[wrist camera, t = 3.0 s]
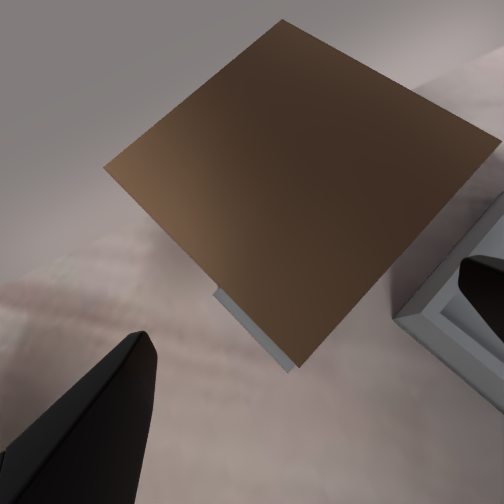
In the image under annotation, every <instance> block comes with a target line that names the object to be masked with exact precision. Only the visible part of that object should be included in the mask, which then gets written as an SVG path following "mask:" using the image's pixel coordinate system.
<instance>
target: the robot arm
mask: <svg viewBox="0 0 504 504" xmlns="http://www.w3.org/2000/svg"><path fill="white" fill-rule="evenodd" d="M458 287H459V289H460V291H461V293H462V294H463V295H464V296H465V298H466V299H467V300H468V301H469V302H470V304H471V305H472V306H473V307H474V309H475V310H476V311H477V312H478V314H479V315H480V316H481V317H482V319H483V320H484V321H485V322H486V323H487V325H488V326H489V327H490V328H491V330H492V331H493V332H494V333H495V334H496V335H497V337H498V338H499V339H500V340H501V341H502V342H503V343H504V259H500V258H495V257H490V256H485V255H473V256H469V257H465V258H463V259H462V260H461V262H460V268H459V276H458ZM157 359H158V358H157V352H156V349H155V347H154V345H153V343H152V341H151V339H150V338H149V336H148V334H147V333H146V332H145V331H138V332H134V333H131V334H129V335H128V336H127V337H126V338H124V339H123V340H122V341H121V342H120V343H119V344H118V345H117V346H116V347H115V348H114V349H113V350H112V351H110V352H109V353H108V354H107V355H106V356H105V357H104V358H103V359H102V360H101V361H100V362H99V363H97V364H96V365H95V366H94V367H93V368H92V369H91V370H90V371H89V372H88V373H87V374H86V375H84V376H83V377H82V378H81V379H80V380H79V381H78V382H77V383H76V384H75V385H74V386H73V387H71V388H70V389H69V390H68V391H67V392H66V393H65V394H64V395H63V396H62V397H61V398H60V399H59V400H57V401H56V402H55V403H54V404H53V405H52V406H51V407H50V408H49V409H48V410H47V411H46V412H44V413H43V414H42V415H41V416H40V417H39V418H38V419H37V420H36V421H35V422H34V423H33V424H31V425H30V426H29V427H28V428H27V429H26V430H25V431H24V432H23V433H22V434H21V435H20V436H18V437H17V438H16V439H15V440H14V441H13V442H12V443H11V444H10V445H9V446H8V447H7V448H6V451H2V452H1V453H0V504H134V503H135V498H136V493H137V488H138V483H139V478H140V473H141V468H142V463H143V458H144V453H145V448H146V443H147V438H148V433H149V428H150V423H151V417H152V411H153V403H154V392H155V381H156V370H157Z"/></svg>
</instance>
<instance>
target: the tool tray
mask: <svg viewBox="0 0 504 504" xmlns="http://www.w3.org/2000/svg"><path fill="white" fill-rule="evenodd" d="M473 255H485V256H490V257H495V258H500V259H504V191H503V192H502V193H501V194H500V195H499V196H498V197H497V198H496V200H495V201H494V202H493V203H492V204H491V205H490V207H489V208H488V209H487V210H486V211H485V212H484V214H483V215H482V216H481V217H480V218H479V219H478V221H477V222H476V223H475V224H474V225H473V226H472V228H471V229H470V230H469V231H468V232H467V233H466V234H465V236H464V237H463V238H462V239H461V240H460V241H459V243H458V244H457V245H456V246H455V247H454V248H453V250H452V251H451V252H450V253H449V254H448V255H447V257H446V258H445V259H444V260H443V261H442V262H441V264H440V265H439V266H438V267H437V268H436V269H435V271H434V272H433V273H432V274H431V275H430V276H429V278H428V279H427V280H426V281H425V282H424V283H423V285H422V286H421V287H420V288H419V289H418V290H417V292H416V293H415V294H414V295H413V296H412V297H411V299H410V300H409V301H408V302H407V303H406V304H405V306H404V307H403V308H402V309H401V310H400V311H399V312H398V314H397V315H396V316H395V317H394V318H393V319H392V320H393V321H394V322H396V323H397V324H398V325H399V326H400V327H401V328H403V329H404V330H405V331H406V332H407V333H409V334H410V335H411V336H412V337H413V338H414V339H416V340H417V341H418V342H419V343H420V344H422V345H423V346H424V347H425V348H426V349H427V350H429V351H430V352H431V353H432V354H433V355H435V356H436V357H437V358H438V359H439V360H440V361H442V362H443V363H444V364H445V365H446V366H448V367H449V368H450V369H451V370H452V371H453V372H455V373H456V374H457V375H458V376H459V377H461V378H462V379H463V380H464V381H465V382H466V383H468V384H469V385H470V386H471V387H472V388H473V389H475V390H476V391H477V392H478V393H479V394H481V395H482V396H483V397H484V398H485V399H486V400H488V401H489V402H490V403H491V404H492V405H494V406H495V407H496V408H497V409H498V410H499V411H501V412H502V413H503V414H504V343H503V342H502V341H501V340H500V339H499V338H498V337H497V335H496V334H495V333H494V332H493V331H492V330H491V328H490V327H489V326H488V325H487V323H486V322H485V321H484V320H483V319H482V317H481V316H480V315H479V314H478V312H477V311H476V310H475V309H474V307H473V306H472V305H471V304H470V302H469V301H468V300H467V299H466V298H465V296H464V295H463V294H462V293H461V291H460V289H459V287H458V276H459V268H460V262H461V260H462V259H463V258H465V257H469V256H473Z"/></svg>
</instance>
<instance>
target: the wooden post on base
mask: <svg viewBox="0 0 504 504" xmlns="http://www.w3.org/2000/svg"><path fill="white" fill-rule="evenodd" d="M501 142H502V141H501V140H499V139H497V138H496V137H494V136H492V135H490V134H488V133H487V132H485V131H483V130H481V129H479V128H478V127H476V126H474V125H472V124H470V123H469V122H467V121H465V120H463V119H461V118H460V117H458V116H456V115H454V114H452V113H451V112H449V111H447V110H445V109H443V108H442V107H440V106H438V105H436V104H434V103H432V102H431V101H429V100H427V99H425V98H423V97H422V96H420V95H418V94H416V93H414V92H413V91H411V90H409V89H407V88H405V87H404V86H402V85H400V84H398V83H396V82H395V81H392V80H391V79H389V78H387V77H386V76H384V75H382V74H380V73H378V72H377V71H375V70H373V69H371V68H369V67H368V66H366V65H364V64H362V63H360V62H359V61H357V60H355V59H353V58H351V57H349V56H348V55H346V54H344V53H342V52H341V51H339V50H337V49H335V48H333V47H331V46H330V45H328V44H326V43H324V42H322V41H321V40H319V39H317V38H315V37H313V36H312V35H310V34H308V33H306V32H304V31H302V30H301V29H299V28H297V27H295V26H294V25H292V24H290V23H288V22H286V21H285V20H283V19H282V20H281V21H280V22H278V23H277V24H276V25H274V26H273V27H272V28H271V29H270V30H269V31H267V32H266V33H265V34H264V35H262V36H261V37H260V38H259V39H258V40H257V41H255V42H254V43H253V44H252V45H250V46H249V47H248V48H247V49H246V50H244V51H243V52H242V53H241V54H239V55H238V56H237V57H236V58H235V59H234V60H232V61H231V62H230V63H229V64H228V65H226V66H225V67H224V68H223V69H221V70H220V71H219V72H218V73H217V74H215V75H214V76H213V77H212V78H211V79H209V80H208V81H207V82H206V83H205V84H203V85H202V86H201V87H200V88H199V89H198V90H196V91H195V92H194V93H192V94H191V95H190V96H189V97H188V98H186V99H185V100H184V101H183V102H182V103H181V104H179V105H178V106H177V107H176V108H174V109H173V110H172V111H171V112H170V113H168V114H167V115H166V116H165V117H164V118H162V119H161V120H160V121H159V122H157V123H156V124H155V125H154V126H153V127H151V128H150V129H149V130H148V131H147V132H145V133H144V134H143V135H142V136H141V137H139V138H138V139H137V140H136V141H135V142H134V143H132V144H131V145H130V146H129V147H127V148H126V149H125V150H124V151H123V152H121V153H120V154H119V155H118V156H117V157H115V158H114V159H113V160H112V161H111V162H109V163H108V164H107V165H106V166H104V167H103V168H104V169H105V170H106V171H107V172H108V173H109V174H110V175H111V176H112V178H113V179H114V180H115V181H116V182H118V184H119V185H120V186H121V187H122V188H123V189H124V190H125V191H126V192H127V193H128V194H129V195H130V196H131V197H132V198H133V199H134V200H135V201H136V202H137V203H138V204H139V205H140V206H141V207H142V208H143V209H144V210H145V211H146V212H147V213H148V214H149V215H150V216H151V217H152V218H153V219H154V220H155V221H156V222H157V223H158V225H159V226H160V227H161V228H162V229H163V230H164V231H165V232H166V233H167V234H168V235H169V236H170V237H171V238H172V239H173V240H174V241H175V242H176V243H177V244H178V245H179V246H180V247H181V248H182V249H183V250H184V251H185V252H186V253H187V254H188V255H189V256H190V257H191V258H192V259H193V260H194V261H195V262H196V263H197V264H198V265H199V266H200V267H201V268H202V269H203V270H204V272H205V273H206V274H207V275H208V276H209V277H210V278H211V279H212V280H213V281H214V282H215V283H216V284H217V285H218V286H219V287H220V288H219V289H218V290H217V291H216V292H215V293H214V294H213V296H214V297H215V298H216V299H217V300H218V301H219V302H220V303H221V304H222V305H223V306H224V307H225V308H226V309H227V310H228V311H229V312H230V313H231V314H232V316H233V317H234V318H235V319H236V320H237V321H238V322H239V323H240V324H241V325H242V326H243V327H244V328H245V329H246V330H247V331H248V332H249V333H250V334H251V335H252V336H253V337H254V339H255V340H256V341H257V342H258V343H259V344H260V345H261V346H262V347H263V348H264V349H265V350H266V351H267V352H268V353H269V354H270V355H271V356H272V357H273V358H274V359H275V360H276V362H277V363H278V364H279V365H280V366H281V367H282V368H283V369H284V370H285V371H286V372H287V373H288V372H289V371H290V370H291V369H292V368H293V367H294V366H295V365H296V366H297V367H298V368H300V367H301V365H302V364H303V363H304V362H305V361H306V360H307V359H308V358H309V356H310V355H311V354H312V353H313V352H314V351H315V350H316V349H317V348H318V346H319V345H320V344H321V343H322V342H323V341H324V340H325V339H326V338H327V336H328V335H329V334H330V333H331V332H332V331H333V330H334V329H335V327H336V326H337V325H338V324H339V323H340V322H341V321H342V320H343V319H344V317H345V316H346V315H347V314H348V313H349V312H350V311H351V310H352V308H353V307H354V306H355V305H356V304H357V303H358V302H359V301H360V300H361V298H362V297H363V296H364V295H365V294H366V293H367V292H368V291H369V290H370V288H371V287H372V286H373V285H374V284H375V283H376V282H377V281H378V279H379V278H380V277H381V276H382V275H383V274H384V273H385V272H386V271H387V269H388V268H389V267H390V266H391V265H392V264H393V263H394V262H395V260H396V259H397V258H398V257H399V256H400V255H401V254H402V253H403V252H404V250H405V249H406V248H407V247H408V246H409V245H410V244H411V243H412V242H413V240H414V239H415V238H416V237H417V236H418V235H419V234H420V233H421V231H422V230H423V229H424V228H425V227H426V226H427V225H428V224H429V223H430V221H431V220H432V219H433V218H434V217H435V216H436V215H437V214H438V212H439V211H440V210H441V209H442V208H443V207H444V206H445V205H446V204H447V202H448V201H449V200H450V199H451V198H452V197H453V196H454V195H455V193H456V192H457V191H458V190H459V189H460V188H461V187H462V186H463V185H464V183H465V182H466V181H467V180H468V179H469V178H470V177H471V176H472V175H473V173H474V172H475V171H476V170H477V169H478V168H479V167H480V166H481V164H482V163H483V162H484V161H485V160H486V159H487V158H488V157H489V156H490V154H491V153H492V152H493V151H494V150H495V149H496V148H497V147H498V145H499V144H500V143H501Z"/></svg>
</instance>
